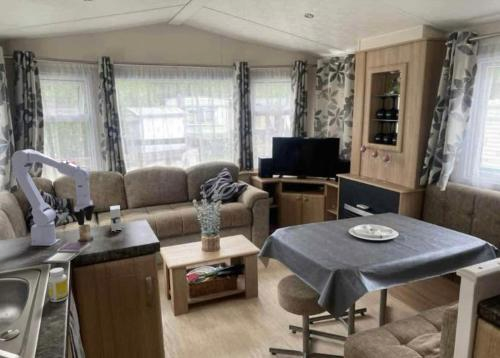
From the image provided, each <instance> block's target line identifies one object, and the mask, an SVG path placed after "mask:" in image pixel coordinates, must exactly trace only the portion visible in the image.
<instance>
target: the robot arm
mask: <svg viewBox="0 0 500 358" xmlns="http://www.w3.org/2000/svg"><path fill="white" fill-rule="evenodd" d="M10 160H11V163H12V173H13V175H14V177H15V179H16V180H17V183H18V184H19V186H20V188H21V190H22V191H23V194H24V196H25V197H26V199H27V201H28V203H29V204H30V206H31V208H32V210H31V215H32V217H33V218H32V220H33V221H32V222H34V224H33V225H32V226H31V228H30V238H31V239H30V240H31V244H30V246H45V247H46V246H53V245H55V244H56V243H58V242H59V241H60V240H61V238H57V237H56V235H57V234H56V225H55V219H56V217H57V212H56V211H55V210H54V208H52V206H51V205H50V204H48V203H47V202H45V200H44V198H43V196H42V194H41V192H40V190H38V188H37V186H36V184H35V182H34V180H33V179H32V176H31V175H30V173H29V170H30V169H31V166H32V165H33V164H34V163H40V164H43V165H45V166H46V165H47V166H49V167H51V168H55V169H56V170H57V172H58V173H60V174H63V175H65V176H67V177H69V178H71V179H73V180H74V181H75V194H76V205H75V206H74V207H73V210H72V211H71V212H72V214H73V216H74V217H75V219H76V222H77V224H78V226H81V225H85V220H86V221H89V222H91V221H92V217H93V213H94V211H95V208H96V205H95V204H94V200H93V199H91V190H90V189H91V188H90V187H91V186H90V179H89V178H90V177H91V171H90V170H89V168H87V167H85V166H83V167H81V166H80V165H76V164H74V163H71V161H69V160H62V161H59V160H56V159H55V158H53V157H51V156H49V155H46V154H45V153H42V152H40V151H39V150H38V151H37V150H34V149H33V148H26V149H23V150H17V151H16V150H15V152H14V153H13V154H12V156H11V158H10Z"/></svg>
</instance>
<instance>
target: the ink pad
mask: <svg viewBox="0 0 500 358" xmlns="http://www.w3.org/2000/svg"><path fill="white" fill-rule="evenodd" d="M90 246H91V242H78V241H77V242H75V241H74V242H73V241H69V242H67V243H65V244H63V245H62V246H61V247H60V248H58V249H57V250H56V252H80V253H79V254H81V253H83V251H85V250H86V249H87V248H88V247H90Z"/></svg>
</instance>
